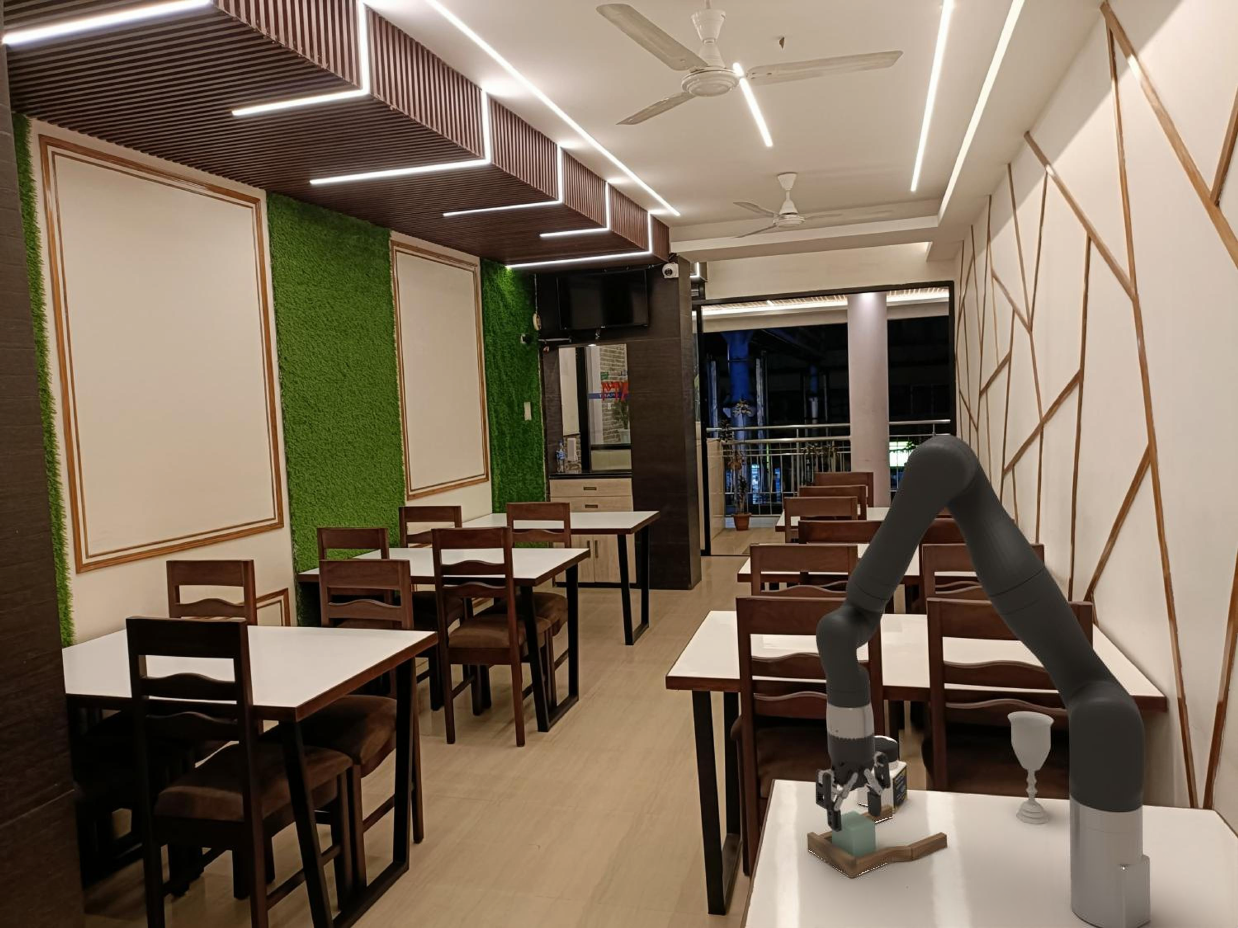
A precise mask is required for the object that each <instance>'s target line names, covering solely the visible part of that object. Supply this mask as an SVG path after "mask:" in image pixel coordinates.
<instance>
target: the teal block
mask: <svg viewBox="0 0 1238 928" xmlns="http://www.w3.org/2000/svg"><path fill="white" fill-rule="evenodd" d="M861 814H862V813H859V812H857V811H856V810H851V811H849V812H846V813H843V814H842V813H841V824H842V830H841V831H839V832H836V831H834V830H833V829H831V831H832V844H834V845H835V846H837V847H838V848H840V849H842V850H843V851H845V852H847V853H848V854H850V855H852V856H853V857H855V858H856V859H858V858H861V857H863V856H866V855H868V854H871V853H873V852H876V851H877V848H876V847H877V846H876V843H877V841H876V824H875V822H874V821H872V820H870V819H868V818H866V817H865V816H863V815H861Z"/></svg>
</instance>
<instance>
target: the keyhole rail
mask: <svg viewBox="0 0 1238 928" xmlns="http://www.w3.org/2000/svg"><path fill="white" fill-rule="evenodd" d="M860 814H861V815H863V816H865V817H866V818H868V819H870V820H872V821H874V822H876V821H879V820H882V819H885V818H889V817H892V816H893V817H894V813H893V807H891V806H890V805H888V804H887V805H885V806H882V810H881V812H880V814H881V815H880V816H879V817H877V818H876V817H874V816H872V815H870V814H869V812H868V811H866V812H863V813H860ZM806 835H807V837H806V839H807V841H806V842H807V851H808V850H810V851H812V852H813V853H815V854H816V855H817V856H819V857H820V858H822V859H823V860H825V861H826V862H827V863H826V862H825V863H826V864H828V863H829V864H830V865H829V864H828V865H829V866H831V865H832V866H834V867H835V868H837V869H838V870H840V871H842V872H843V873H845V874H846V875H848V876H849V877H851V878H852V877H855V876H857V875H859V874H861V873H862V872H865V871H867V870H871V869H873V868H876V867H878V866H881V865H883V864H885V863H889V862H891V863H893V862H892V861H903V862H912V861H915V859H916V860H918V859H920V858H922V856H923V857H925V856H927V855H930V854H932V852H933V853H934V851H935V852H937V851H940V850H942V849H944V848H947V847H948V836H947V835H948V834H946V833H944V832H938V833H935V834H933V835H930V836H928V837H926V838H923V839H921V840H918V841H916V842H913V843H911V844H908V845H897V846H896V845H895V846H894V845H893V846H886V847H884V848H880V849H879V850H876V852H873V853H871V854H868V855H866V856H863V857H861V858H858V859H856V858H855V857H853V856H852V855H850V854H848V853H847V852H845V851H843V850H842V849H840V848H838V847H837V846H835V845H834V844H832V830H829V831H826V832H824V833H821V834H817V833H816V832H814V831H810V832H808V833H806ZM817 856H816V857H817ZM820 858H819V859H820ZM823 860H822V861H823ZM911 860H912V861H911ZM889 864H890V863H889ZM832 866H831V867H832ZM834 867H833V868H834ZM835 868H834V869H835ZM837 869H836V870H837ZM838 870H837V871H838ZM840 871H839V872H840ZM842 872H841V873H842ZM843 873H842V874H843ZM845 874H844V875H845ZM846 875H845V876H846ZM848 876H847V877H848ZM859 876H860V875H859ZM849 877H848V878H849ZM857 877H858V876H857ZM851 878H850V879H851ZM855 878H856V877H855ZM852 879H853V878H852Z"/></svg>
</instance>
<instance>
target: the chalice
mask: <svg viewBox="0 0 1238 928" xmlns="http://www.w3.org/2000/svg"><path fill="white" fill-rule="evenodd" d="M1007 718H1008V720H1009V722H1010V724H1011V725H1010V727H1011V728H1010V729H1011V730H1010V731H1011V734H1010V735H1011V746H1012V747H1013V751H1014V754H1015V756H1016V758H1017V759H1018V762H1019V763H1020V765H1021V766H1022V768H1023V769H1024V770H1027V773H1028V774H1027V778H1026V782H1027V783H1028V786H1027V788H1026V789H1025V791H1026V793H1027V795H1028V799H1027V800H1026V801H1023V802H1022V803H1021V804H1020V807H1019V808H1018V811H1017V813H1016V817H1017V818H1018V819H1019V820H1020V821H1022V822H1024V823H1028V824H1034V825H1041V824H1045V823H1047V822H1048V821H1049V818H1048V816H1047V814H1046V812H1045V810H1044V807H1043V806H1042V805H1041V804H1040V803H1039V802H1038V801H1036V798H1035V797H1036V794H1037V792H1038V790H1037V789H1036V787H1035V785H1036V783H1037V779H1036V776H1035V772H1036V771H1039V770H1041V768H1042V766H1043V765H1044V763H1045V761H1046V759H1047V757H1048V755H1049V752H1050V750H1051V745H1052V743H1051V726H1052V725H1053V723H1054V719H1053V718H1052V717H1051V716H1050V715H1047V714H1044V713H1040V712H1034V711H1014V712H1011V713H1009V714H1008V715H1007Z"/></svg>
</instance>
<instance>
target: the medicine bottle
mask: <svg viewBox="0 0 1238 928" xmlns="http://www.w3.org/2000/svg"><path fill="white" fill-rule="evenodd" d="M874 740H875V750H876V751H879V752H881V753H884V754H886V755H887V756H888V761H889V772H890V782H891V786H890V788H889V789H886V788H885V789H884V790H883V793H882V795H881V806H885V805H887V804H888V805H890V806H891V807H893V814H895V813H896V812H897V811H898V809H900V807H901V806H902V805H903V804H904V803H905V802H906V800H907V799H908V776H907V775H908V773H907V771H908V769H907V763H906V762H904V761H900V760H899V746H898V742H897V741H896V740H895V739H893V738H891V737H890V736H886V735H885V736H883V735H874ZM871 773H872V775H873V776H874V777H875V775H874V767H873V769H872V772H871ZM882 779H883V776H882ZM867 792H870V791H869V790H868V789H867V787H866V786H865V787H862V788H857V789H856V796H857V797H856V800H857V804H858V803H859V804H860V803H861V804H867V805H868V800H867ZM859 804H858V805H859Z"/></svg>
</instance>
